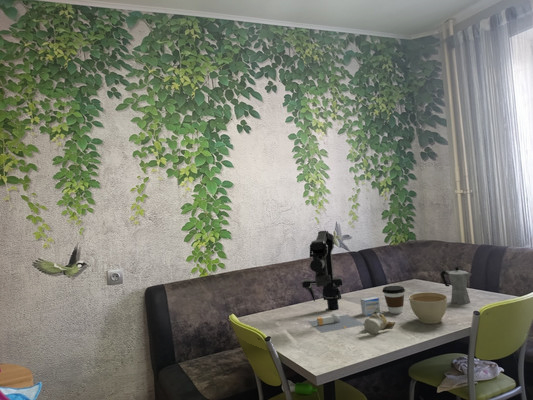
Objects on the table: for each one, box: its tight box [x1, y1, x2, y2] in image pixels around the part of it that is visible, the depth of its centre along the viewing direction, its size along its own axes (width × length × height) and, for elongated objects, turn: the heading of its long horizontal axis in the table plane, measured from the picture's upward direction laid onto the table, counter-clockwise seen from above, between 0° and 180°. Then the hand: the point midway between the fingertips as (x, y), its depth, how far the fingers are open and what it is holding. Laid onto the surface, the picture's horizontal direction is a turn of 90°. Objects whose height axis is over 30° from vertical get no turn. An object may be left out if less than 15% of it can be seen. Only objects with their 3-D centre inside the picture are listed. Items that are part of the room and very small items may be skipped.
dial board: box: [308, 314, 364, 334], centre depth 186 cm, size 18×21×2 cm
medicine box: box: [360, 296, 381, 317], centre depth 195 cm, size 8×4×9 cm, turn 105°
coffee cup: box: [382, 285, 406, 315], centre depth 197 cm, size 11×11×12 cm
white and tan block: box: [316, 313, 340, 325], centre depth 186 cm, size 11×4×3 cm, turn 104°
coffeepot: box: [439, 266, 472, 305], centre depth 203 cm, size 15×9×18 cm, turn 44°
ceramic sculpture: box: [363, 312, 396, 335], centre depth 174 cm, size 11×9×15 cm
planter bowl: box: [408, 291, 448, 325], centre depth 179 cm, size 16×16×11 cm
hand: (324, 300), depth 188 cm, fingers open, 9 cm apart
